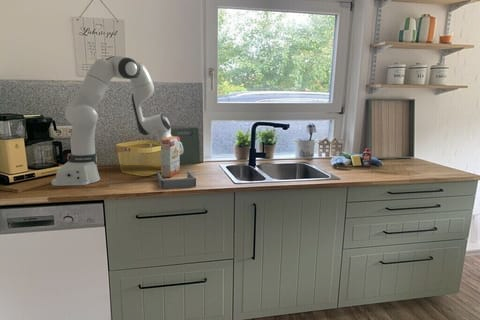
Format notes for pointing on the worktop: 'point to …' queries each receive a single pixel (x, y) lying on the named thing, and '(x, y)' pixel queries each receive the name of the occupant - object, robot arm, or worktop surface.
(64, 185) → the robot arm
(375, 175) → the worktop surface
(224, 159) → the worktop surface
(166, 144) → the cracker box
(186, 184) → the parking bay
